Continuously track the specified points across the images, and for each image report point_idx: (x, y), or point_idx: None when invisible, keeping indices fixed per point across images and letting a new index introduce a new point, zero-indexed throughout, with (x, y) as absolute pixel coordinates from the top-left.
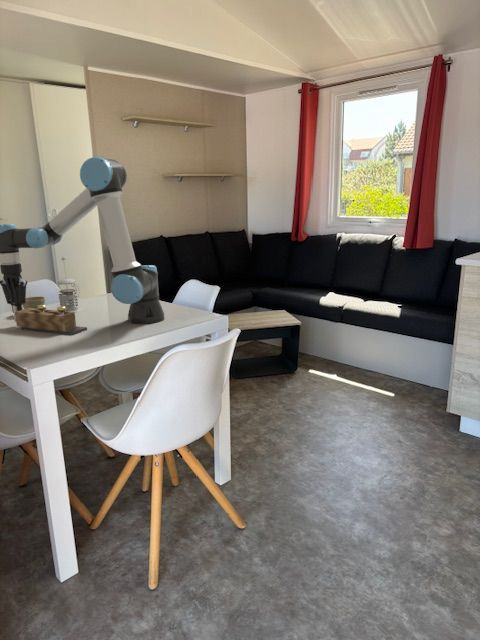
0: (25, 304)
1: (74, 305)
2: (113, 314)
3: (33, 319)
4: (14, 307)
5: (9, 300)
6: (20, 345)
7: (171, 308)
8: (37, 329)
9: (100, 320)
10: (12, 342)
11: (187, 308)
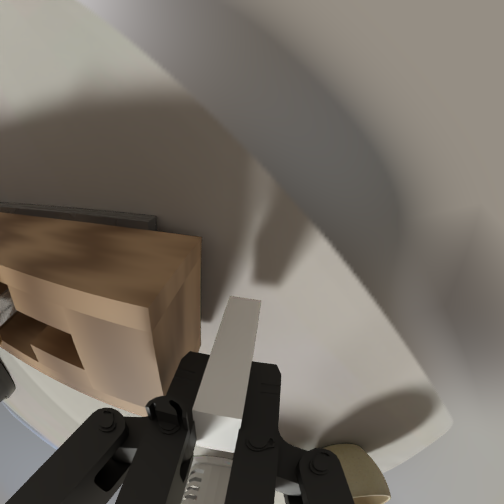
0: (354, 481)
1: (187, 481)
2: (67, 418)
3: (19, 241)
4: (213, 399)
5: (299, 490)
6: (8, 22)
7: (35, 424)
8: (42, 209)
9: (32, 369)
10: (44, 16)
11: (20, 416)
